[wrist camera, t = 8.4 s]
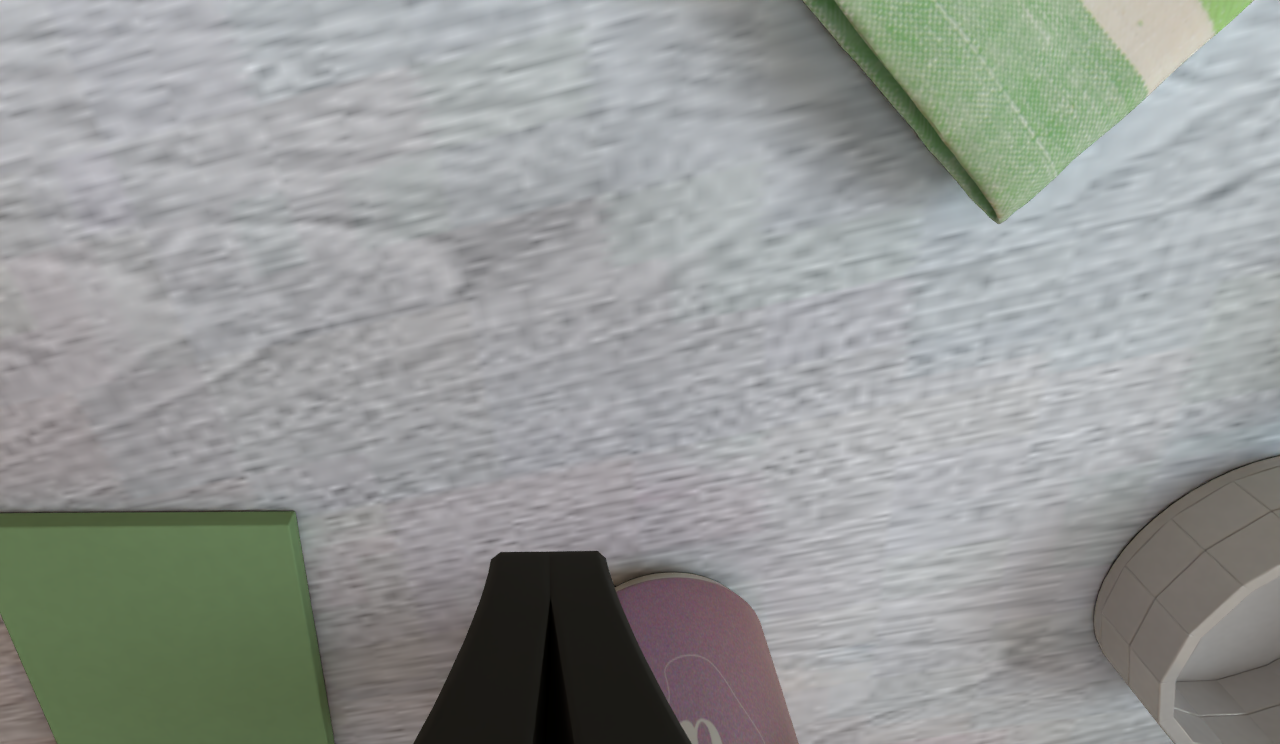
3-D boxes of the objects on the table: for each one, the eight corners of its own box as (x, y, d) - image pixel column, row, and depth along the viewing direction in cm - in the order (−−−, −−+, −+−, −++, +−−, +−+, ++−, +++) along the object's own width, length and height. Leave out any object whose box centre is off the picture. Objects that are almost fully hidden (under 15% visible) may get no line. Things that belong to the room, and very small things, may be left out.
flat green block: (84, 767, 24) (74, 785, 23) (-23, 512, 19) (-39, 528, 19) (337, 754, 25) (332, 772, 24) (295, 510, 20) (289, 525, 20)
